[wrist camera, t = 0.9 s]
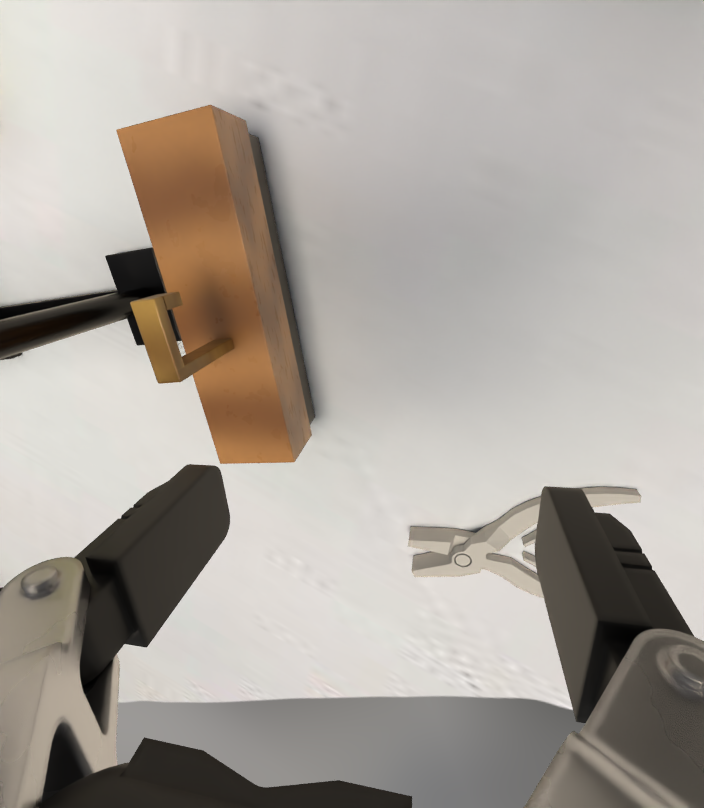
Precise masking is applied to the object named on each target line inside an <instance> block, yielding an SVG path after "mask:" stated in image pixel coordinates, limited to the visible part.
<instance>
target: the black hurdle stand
mask: <svg viewBox="0 0 704 808" xmlns="http://www.w3.org/2000/svg"><path fill="white" fill-rule="evenodd" d="M105 257H106V260H107V263H108V266H109V268H110V271H111V274H112V277H113V280H114V282H115V285H116V288H117V290H112V291H105V292H98V293H92V294H85V295H78V296H71V297H65V298H58V299H51V300H45V301H38V302H31V303H24V304H18V305H11V306H4V307H0V360H4V359H12V358H15V357H18V356H21V352H24V351H27V350H30V349H34V348H37V347H40V346H43V345H46V344H49V343H52V342H55V341H58V340H61V339H65V338H68V337H71V336H74V335H77V334H80V333H83V332H86V331H89V330H93V329H96V328H99V327H102V326H105V325H108V324H111V323H114V322H117V321H120V320H124V319H128V322H129V325H130V327H131V330H132V333H133V336H134V339H135V341H136V344H137V345H145V344H144V341H143V339H142V336H141V333H140V330H139V327H138V324H137V321H136V318H135V316H134V313H133V310H132V307H131V304H130V302H132V301H135V300H139V299H142V298H146V297H149V296H153V295H157V294H164V293H167V291H166V288H165V284H164V281H163V278H162V275H161V272H160V268H159V265H158V262H157V259H156V256H155V252H154V249H153V248H147V249H141V250H136V251H130V252H124V253H119V254H113V255H107V256H105ZM167 313H168V316H169V319H170V322H171V325H172V329H173V332H174V335H175V338H176V341H182V339H181V336H180V333H179V329H178V326H177V323H176V320H175V317H174V313H173V310H172V309H169V310H167Z"/></svg>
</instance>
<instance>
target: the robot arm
mask: <svg viewBox="0 0 704 808" xmlns="http://www.w3.org/2000/svg"><path fill="white" fill-rule="evenodd" d="M229 524H230V514H229V508H228V504H227V499H226V494H225V489H224V484H223V479H222V475H221V472H220V470H219V468H218V467H216V466H209V465H192V464H189V465H186V466H185V467H184V468H182V469H181V470H180V471H179V472H178V473H177V474H176V475H175V476H174V477H173V478H171V479H170V480H169V481H168V482H166V483H164V484H162V485H161V486H159V487H157V488H155V489H153V490H151V491H150V492H148V493H147V494H146V495H145V496H143V497H142V498H141V499H140V500H139V501H138V502H137V503H136V504H134V507H133V508H130V509H129V510H128V511H126V512H125V513H124V514H123V515H122V518H121V519H117V520H116V521H115V522H114V523H113V524H112V525H111V526H110V527H108V528H107V529H106V530H105V531H104V532H103V533H102V534H100V535H99V536H98V537H97V538H96V539H95V540H94V541H93V542H91V543H90V544H89V545H88V546H87V547H86V548H85V549H84V550H82V551H81V552H80V553H79V554H78V555H77V556H76V557H75V558H72V557H60V558H55V559H51V560H47V561H44V562H41V563H39V564H37V565H34V566H32V567H30V568H28V569H26V570H25V571H23V572H21V573H20V574H19V575H17V576H16V577H14V578H13V579H12V580H11V581H10V582H8V583H7V584H6V585H5V586H4V588H0V808H412V796H407V795H403V794H398V793H393V792H389V791H384V790H379V789H375V788H371V787H366V786H362V785H357V784H353V783H348V782H344V781H328V782H319V783H308V784H299V785H290V786H279V787H269V788H263V787H259V786H257V785H255V784H253V783H252V782H250V781H248V780H247V779H245V778H244V777H242V776H241V775H239V774H238V773H236V772H235V771H233V770H232V769H230V768H229V767H227V766H226V765H224V764H223V763H221V762H219V761H218V760H217V759H215V758H214V757H212V756H210V755H209V754H207V753H206V752H204V751H202V750H198V749H193V748H189V747H185V746H180V745H175V744H171V743H166V742H162V741H157V740H153V739H148V738H144V739H143V740H142V742H141V744H140V745H139V747H138V749H137V750H136V752H135V754H134V756H133V757H132V759H131V761H130V762H129V763H124V764H120V765H118V763H117V754H116V735H117V714H118V693H119V672H120V661H119V659H118V656H117V653H118V651H119V650H120V649H121V648H122V646H123V645H124V644H129V645H135V646H141V647H147V646H148V645H149V644H150V642H151V641H152V639H153V638H154V637H155V635H156V634H157V632H158V631H159V630H160V628H161V627H162V625H163V624H164V623H165V621H166V620H167V618H168V617H169V616H170V614H171V613H172V611H173V610H174V609H175V607H176V606H177V604H178V603H179V602H180V600H181V599H182V597H183V596H184V595H185V593H186V592H187V590H188V589H189V588H190V586H191V585H192V583H193V582H194V581H195V579H196V578H197V577H198V575H199V574H200V572H201V571H202V570H203V568H204V567H205V565H206V564H207V563H208V561H209V560H210V558H211V557H212V556H213V554H214V553H215V551H216V550H217V549H218V547H219V546H220V544H221V543H222V542H223V540H224V539H225V537H226V535H227V532H228V529H229ZM535 561H536V568H537V573H538V577H539V581H540V584H541V588H542V592H543V596H544V600H545V604H546V607H547V611H548V615H549V619H550V623H551V627H552V630H553V634H554V638H555V642H556V646H557V650H558V653H559V657H560V661H561V665H562V669H563V673H564V676H565V680H566V684H567V688H568V692H569V696H570V699H571V703H572V707H573V711H574V715H575V719H576V721H577V722H582V723H585V725H584V727H583V728H582V730H581V731H580V732H579V733H576V732H575V731H573V732H571V733H570V734H569V735H568V737H567V738H566V739H565V741H564V742H563V744H562V745H561V747H560V748H559V750H558V751H557V753H556V755H555V756H554V758H553V760H552V762H551V763H550V765H549V766H548V768H547V770H546V771H545V773H544V775H543V776H542V778H541V780H540V781H539V783H538V785H537V786H536V788H535V790H534V791H533V793H532V795H531V796H530V798H529V800H528V801H527V803H526V805H525V807H524V808H704V641H702V640H700V639H698V638H696V637H694V635H693V634H692V632H691V630H690V629H689V627H688V625H687V624H686V622H685V620H684V619H683V617H682V615H681V614H680V612H679V610H678V609H677V607H676V605H675V604H674V602H673V600H672V599H671V597H670V595H669V594H668V592H667V590H666V589H665V587H664V586H663V584H662V582H661V581H660V579H659V577H658V576H657V574H656V572H655V571H653V570H652V566H651V564H650V562H649V561H648V559H647V557H646V556H645V554H642V549H641V547H640V546H639V544H638V542H637V541H636V539H635V537H634V536H633V534H632V532H631V531H630V530H629V529H628V528H627V527H625V526H624V525H623V524H622V523H620V522H619V521H618V520H617V519H616V518H614V517H613V516H612V515H611V514H606V513H595V512H594V510H593V509H592V507H591V505H590V503H589V501H588V499H587V497H586V495H585V493H584V491H583V490H582V489H579V488H562V487H544V488H543V490H542V494H541V501H540V509H539V517H538V524H537V532H536V540H535Z"/></svg>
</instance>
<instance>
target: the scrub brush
mask: <svg viewBox="0 0 704 808" xmlns="http://www.w3.org/2000/svg"><path fill="white" fill-rule="evenodd" d="M117 134H118V137H119V140H120V144H121V147H122V150H123V153H124V156H125V160H126V163H127V166H128V169H129V172H130V176H131V179H132V182H133V185H134V188H135V192H136V195H137V198H138V201H139V204H140V208H141V211H142V214H143V217H144V220H145V224H146V227H147V230H148V233H149V236H150V240H151V243H152V246H153V249H154V252H155V256H156V259H157V262H158V265H159V268H160V272H161V275H162V278H163V281H164V284H165V288H166V291H167V293H164V294H157V295H153V296H149V297H146V298H142V299H139V300H135V301H132V302H130V304H131V307H132V310H133V313H134V316H135V318H136V321H137V324H138V327H139V330H140V333H141V336H142V339H143V341H144V344H145V347H146V350H147V353H148V356H149V359H150V362H151V364H152V367H153V370H154V373H155V376H156V379H157V382H158V383H173V382H181V381H183V380H184V379H186V378H188V377H189V376H191V375H192V374H193V377H194V381H195V384H196V387H197V390H198V393H199V397H200V400H201V403H202V406H203V409H204V413H205V416H206V419H207V422H208V425H209V429H210V432H211V435H212V438H213V441H214V445H215V448H216V451H217V454H218V458H219V461H220V463H221V464H227V463H278V462H295V461H296V459H297V457H298V456H299V454H300V453H301V451H302V449H303V448H304V446H305V445H306V443H307V442H308V440H309V438H310V437H311V435H312V434H311V429H310V423H311V422H312V420H313V419H314V417H315V414H314V409H313V405H312V400H311V395H310V390H309V385H308V380H307V375H306V370H305V365H304V360H303V355H302V350H301V345H300V340H299V336H298V331H297V326H296V321H295V316H294V311H293V306H292V301H291V296H290V291H289V286H288V281H287V276H286V271H285V267H284V262H283V257H282V252H281V247H280V242H279V237H278V232H277V227H276V222H275V217H274V212H273V207H272V202H271V198H270V193H269V188H268V183H267V178H266V173H265V168H264V163H263V158H262V153H261V148H260V143H259V138H258V137H256V136H253V135H251V134H248V129H247V124H246V121H245V120H243V119H241V118H239V117H237V116H234V115H232V114H230V113H228V112H226V111H223V110H221V109H219V108H217V107H214V106H212V105H208V106H204V107H200V108H196V109H193V110H189V111H185V112H181V113H178V114H174V115H170V116H166V117H163V118H159V119H155V120H151V121H148V122H144V123H140V124H136V125H132V126H129V127H125V128H121V129H117ZM169 309H172V310H173V313H174V317H175V320H176V323H177V326H178V329H179V333H180V336H181V339H182V342H183V345H184V349H185V352H186V355H184V356H182V357H181V354H180V351H179V348H178V344H177V341H176V338H175V335H174V332H173V329H172V325H171V322H170V319H169V316H168V313H167V310H169Z"/></svg>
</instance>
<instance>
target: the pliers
mask: <svg viewBox="0 0 704 808" xmlns="http://www.w3.org/2000/svg"><path fill="white" fill-rule="evenodd" d="M580 489H582V490H583V491H584V493H585V495H586V497H587V499H588V501H589V503H590V505H591V507H600V506H608V505H616V504H626V503H639V502H641V495H640V494H639V492H638V491H637V489H627V488H614V487H591V488H580ZM540 501H541V497H538V498H535V499H532V500H530V501H527V502H525V503H523V504H521V505H519V506H517V507H515V508H513V509H511V510H510V511H509V512H507V513H506V514H505V515H504V516H502V517H501V518H500V519H499V520H497V521H495V522H493V523H491V524H489V525H486V526H484V527H483V528H482V529H481V530H479V531H478V532H477V533H474V532H469V531H465V530H460V529H454V528H432V527H411V529H410V535H409V543H408V546H409V547H413V548H418V549H422V550H427V551H432V552H430V553H425V554H420V555H415V556H413V564H412V573H413V575H414V577H459V576H465V575H471V574H477V573H480V571H481V569H484V570H488V571H490V572H492V573H495V574H497V575H499V576H501V577H503V578H504V579H506V580H507V581H509V582H510V583H511V584H513V585H514V586H516V587H517V588H519V589H521V590H524V591H526V592H528V593H530V594H533V595H536V596H539V597H542V598H544V596H543V592H542V588H541V584H540V581H539V577H538V575H537V574H536V573H534V572H532V571H531V570H529V569H527V568H526V567H524V566H523V565H521V564H520V563H518V562H517V561H515V560H514V559H512V558H511V557H506V556H501V555H496V554H492V553H493V552H498V551H500V550H501V549H502V548H503V547H504V546H505V545H506V544H507V543H508V542H509V541H510V540H512V539H513V538H515V537H516V536H518V535H519V534H520V533H522V532H523V531H525V530H526V529H528V528H529V527H531V526H533V525H534V524H536V523H538V517H539V509H540ZM536 532H537V530H535V531H534V532H532V533H530V534H528V535H526V536H524V537H522V541H523V545H524V546H525V547H526V546H529V545H531V544H533V543H535V540H536ZM451 550H452V554H451V552H450V551H451ZM522 554H523V559H524V561H525V562H527V563H529V564H532V565H534V566H535V567H536V561H535V556H533V555H531V554H529V553H527V552H523V553H522Z"/></svg>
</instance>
